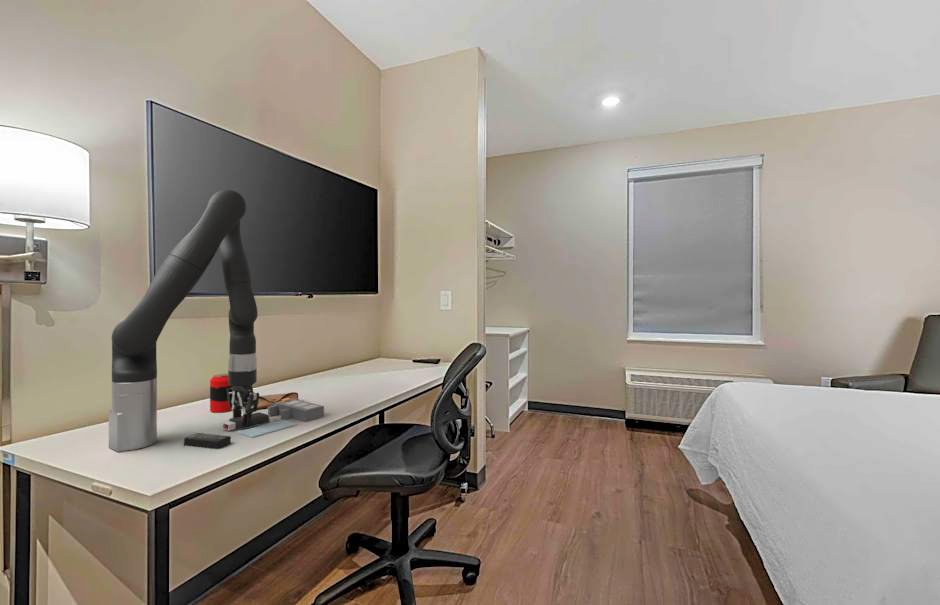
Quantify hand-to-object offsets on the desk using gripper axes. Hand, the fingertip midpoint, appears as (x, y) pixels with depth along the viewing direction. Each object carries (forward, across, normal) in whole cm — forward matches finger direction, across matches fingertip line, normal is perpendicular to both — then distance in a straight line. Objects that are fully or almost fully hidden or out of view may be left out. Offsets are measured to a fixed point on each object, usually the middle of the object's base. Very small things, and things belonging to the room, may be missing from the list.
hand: (242, 424), depth 125 cm
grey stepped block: (+1, +3, +16) cm, 16 cm away
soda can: (+1, -23, +6) cm, 24 cm away
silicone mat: (+1, +8, +3) cm, 9 cm away
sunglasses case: (+1, -14, +19) cm, 24 cm away
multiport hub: (+1, +7, -13) cm, 15 cm away
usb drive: (+1, 0, +1) cm, 2 cm away
